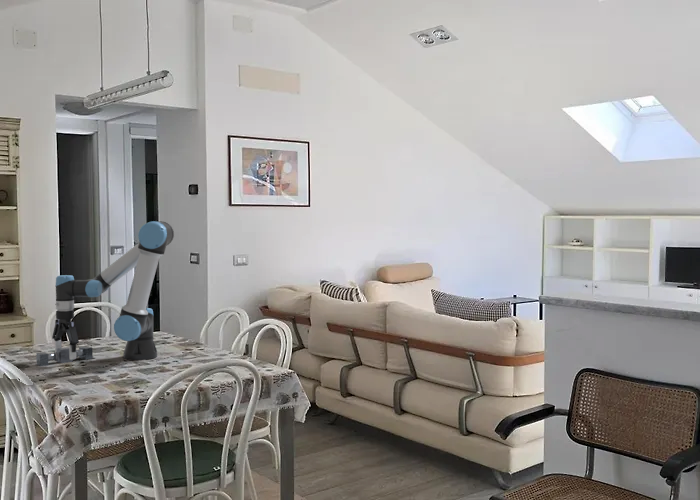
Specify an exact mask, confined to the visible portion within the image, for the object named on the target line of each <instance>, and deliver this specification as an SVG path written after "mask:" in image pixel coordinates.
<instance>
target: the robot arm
mask: <svg viewBox="0 0 700 500" xmlns="http://www.w3.org/2000/svg"><path fill="white" fill-rule="evenodd" d="M137 237H138V238H137V239H138V243H136V244H135V245H134V246H133V247H132V248H131V249H129V250H128V251H127V252H125V253H123V255H121V256H120V257H118V259H116V260H115V261H114V262H112V263H111V264H110V265H109V266H108V267H106V268H105V269H104V270H102V271H101V272H100V273H98V274H97V275H95V277H94V278H90V279H75V278H74V277H75V276H73V275H72V274H71V275H69V274H68V275H67V274H65V275H62V274H61V275H57V276H56V277H55V303H54V304H55V310H56V311H55V320H54V321H55V322H54V328H53V333H52V339H53V341H54V352H57V349H59V348H63V347H62V345H63V344H62V340H63V339H62V337H63V335H64V333H66V336H67V338H68V341H69V344H68V347H69V360H72V359H73V360H76V359H77V358H76V350H77V344H79V343H80V341H79V335H78V333H77V327H76V322H75V321H72V319H74V318H75V310H74V309H75V298H81V297H82V298H97V297H100V296H101V294H104V293H105V292H107V291H108V290H109V288H110V287H111V286H112V285H114V284H115V283H117V282H118V281H119V280H120V279H121V278H122V277H124V276H126V274H128V273H129V272H130V271H132V270H133V269H134V268H135V270H134V273H133V278H132V282H131V285H130V288H129V294H128V297H127V299H126V304H125V305H123V306H121V310H120V312H119V317H118V318H117V319H115V321H114V324H113V330H114V331H113V332H114V334H115V335H116V337H117V338H118V339H120V340H122V341H125V342H126V343H125V347H124V351H123V359H125V360H130V361H131V360H132V361H142V360H143V361H144V360H152V359H154V358H157V357H158V349H157V347H156V343H155V341H154V311H153V310H154V309H152V308H149V307H147V305H148V303H149V298H150V296H151V295H150V294H151V290H152V287H153V283H154V279H155V275H156V272H157V268H158V264H159V261H160V258H161V257H163V256H165V252H166V248H167V246H169V245H170V244H171V243H172V241H173V240H174V237H175V232H174V229H173V227H172V225H171V224H169V223H168V222H166V221H159V220H158V221H157V220H155V221H154V220H153V221H152V220H151V221H149V222H145V223H144V224H143V225H142V226H141V227H140V229H139V230H138V233H137Z"/></svg>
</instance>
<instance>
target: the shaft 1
mask: <svg viewBox="0 0 700 500" xmlns="http://www.w3.org/2000/svg"><path fill="white" fill-rule="evenodd" d="M35 355H36V365H37V366H39V367H44V366H49V361H56V362H57V360H58V353H57V352H55V351H54V352H53V353H52V352H51V353H47V352H46V351H41V352H36V354H35Z"/></svg>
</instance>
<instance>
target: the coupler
mask: <svg viewBox="0 0 700 500" xmlns="http://www.w3.org/2000/svg"><path fill="white" fill-rule="evenodd" d="M57 353H58V360H57V361H56V363H59V364H65V363H66V364H67V363H73V362H74V359H72V360H69V346H68V347H62V348H59V349H57Z"/></svg>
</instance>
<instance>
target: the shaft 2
mask: <svg viewBox="0 0 700 500" xmlns="http://www.w3.org/2000/svg"><path fill="white" fill-rule="evenodd" d="M93 352H94V351H93V347H91V346H80V347H78V349H76V359H77V358H79V359H82V360H89V359H90V360H91V359H93Z"/></svg>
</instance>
